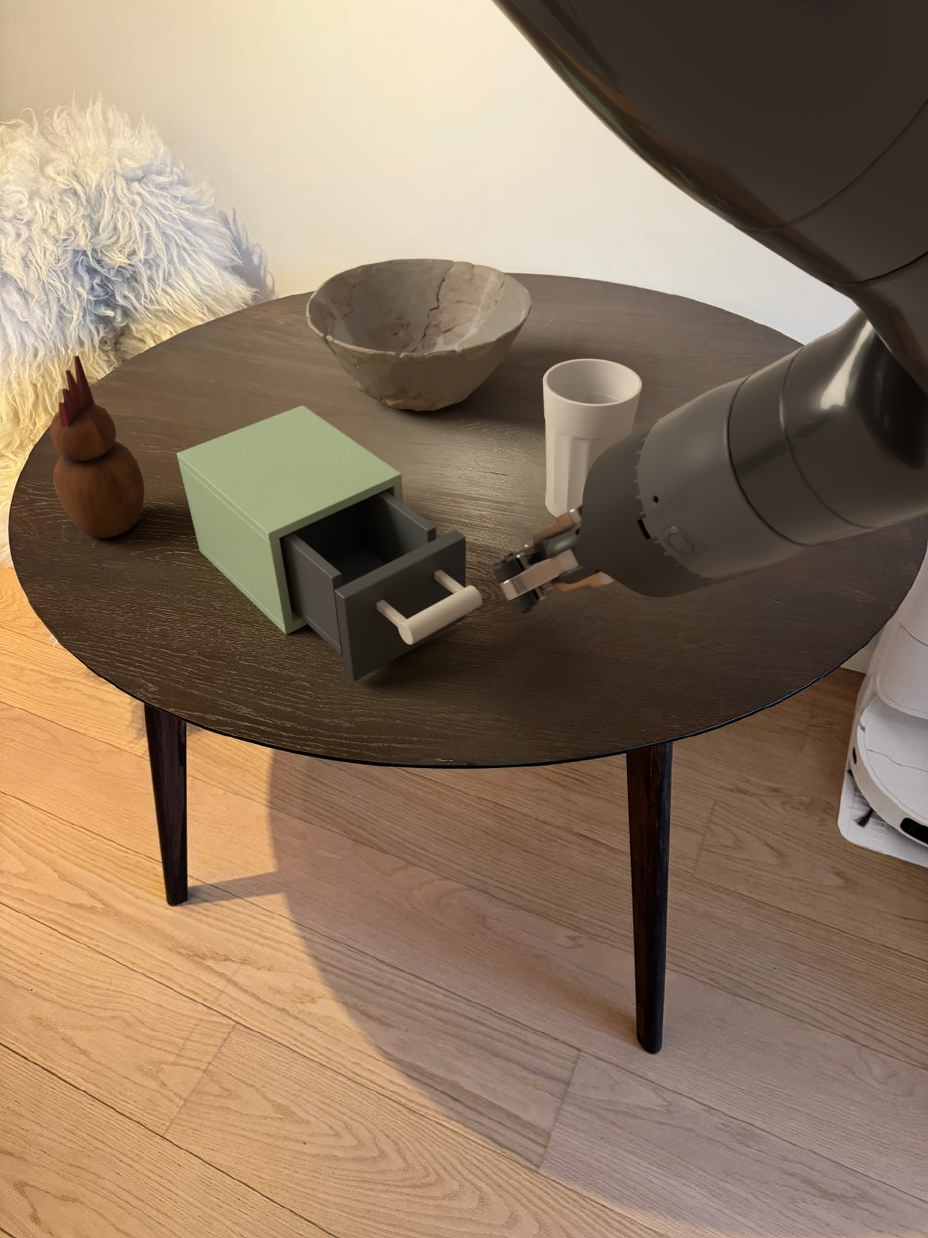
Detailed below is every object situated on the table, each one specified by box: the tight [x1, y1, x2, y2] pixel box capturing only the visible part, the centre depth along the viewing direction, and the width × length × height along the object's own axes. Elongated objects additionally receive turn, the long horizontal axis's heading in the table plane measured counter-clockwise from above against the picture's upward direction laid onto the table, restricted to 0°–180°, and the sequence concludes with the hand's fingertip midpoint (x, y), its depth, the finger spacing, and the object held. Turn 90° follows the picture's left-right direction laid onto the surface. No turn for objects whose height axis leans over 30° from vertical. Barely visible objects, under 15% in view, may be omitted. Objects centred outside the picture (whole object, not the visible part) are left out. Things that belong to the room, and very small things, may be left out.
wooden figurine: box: [49, 355, 145, 539], centre depth 77 cm, size 7×6×15 cm
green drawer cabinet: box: [176, 405, 404, 636], centre depth 75 cm, size 14×12×10 cm
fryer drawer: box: [279, 490, 483, 682], centre depth 68 cm, size 17×10×8 cm, turn 40°
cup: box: [542, 358, 643, 519], centre depth 80 cm, size 8×8×12 cm
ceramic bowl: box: [305, 258, 533, 412], centre depth 96 cm, size 22×23×10 cm
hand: (509, 576), depth 54 cm, fingers closed
